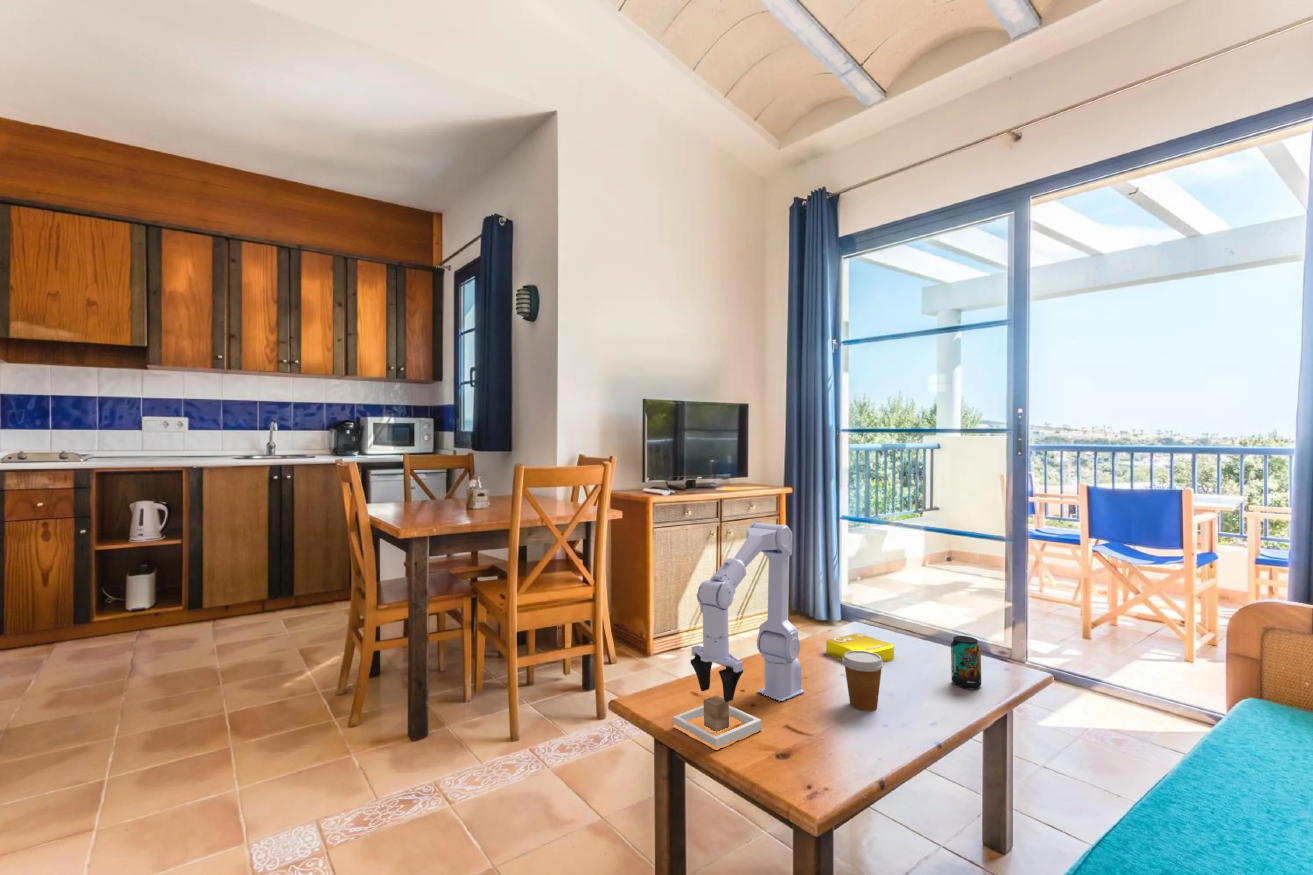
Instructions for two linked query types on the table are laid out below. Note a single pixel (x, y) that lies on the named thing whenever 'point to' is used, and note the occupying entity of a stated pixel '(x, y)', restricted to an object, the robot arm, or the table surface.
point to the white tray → (748, 728)
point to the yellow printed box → (859, 646)
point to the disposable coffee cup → (863, 678)
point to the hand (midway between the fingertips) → (716, 695)
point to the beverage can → (966, 662)
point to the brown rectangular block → (716, 713)
